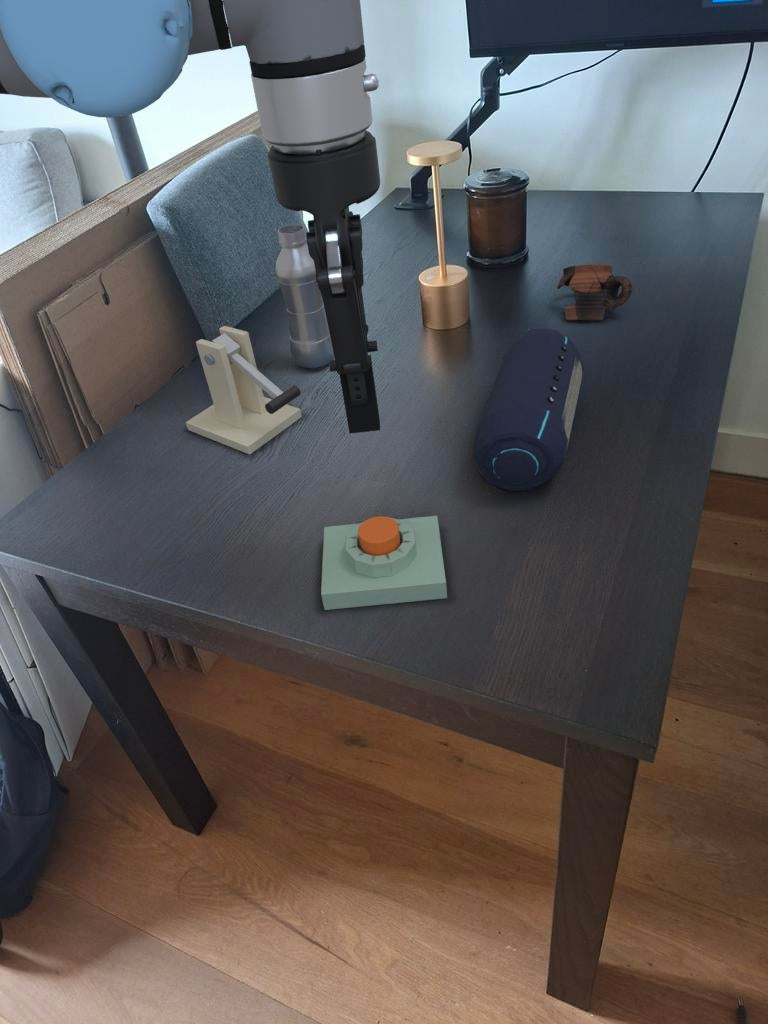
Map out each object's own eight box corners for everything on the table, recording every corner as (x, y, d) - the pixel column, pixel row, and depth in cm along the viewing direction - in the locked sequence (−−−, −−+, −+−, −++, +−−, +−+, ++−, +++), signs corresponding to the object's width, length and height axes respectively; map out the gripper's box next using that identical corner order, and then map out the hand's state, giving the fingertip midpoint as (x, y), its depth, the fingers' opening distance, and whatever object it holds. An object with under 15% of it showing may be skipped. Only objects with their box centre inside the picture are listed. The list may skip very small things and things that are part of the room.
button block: (324, 610, 74) (317, 581, 71) (327, 542, 82) (321, 513, 79) (447, 598, 73) (445, 568, 71) (438, 531, 81) (436, 502, 79)
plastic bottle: (312, 349, 117) (287, 218, 105) (346, 358, 114) (325, 223, 101) (284, 367, 113) (256, 234, 101) (319, 377, 110) (293, 240, 97)
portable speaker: (560, 509, 82) (564, 431, 75) (469, 499, 85) (465, 424, 78) (584, 389, 100) (589, 318, 93) (508, 385, 103) (508, 316, 96)
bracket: (302, 417, 102) (284, 329, 94) (249, 455, 96) (225, 365, 88) (240, 395, 108) (218, 312, 100) (188, 430, 103) (160, 344, 95)
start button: (360, 558, 74) (358, 544, 73) (360, 531, 77) (357, 518, 76) (401, 554, 74) (399, 540, 72) (399, 527, 77) (397, 514, 76)
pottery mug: (545, 322, 117) (546, 267, 115) (574, 326, 124) (575, 273, 122) (620, 317, 109) (622, 257, 107) (646, 321, 116) (648, 264, 114)
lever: (298, 399, 96) (302, 387, 94) (271, 419, 93) (275, 406, 91) (230, 341, 98) (232, 328, 96) (201, 358, 95) (203, 345, 93)
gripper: (376, 156, 47) (411, 465, 61) (372, 109, 57) (403, 385, 72) (256, 171, 47) (319, 476, 62) (273, 122, 57) (324, 394, 72)
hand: (364, 427), depth 67 cm, fingers closed
